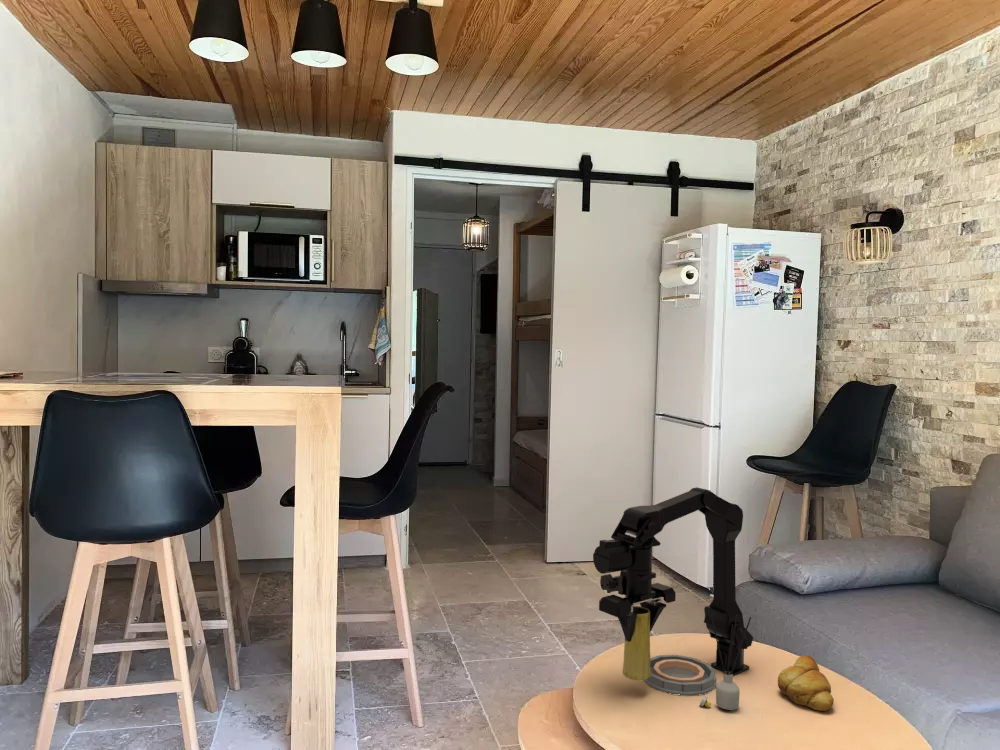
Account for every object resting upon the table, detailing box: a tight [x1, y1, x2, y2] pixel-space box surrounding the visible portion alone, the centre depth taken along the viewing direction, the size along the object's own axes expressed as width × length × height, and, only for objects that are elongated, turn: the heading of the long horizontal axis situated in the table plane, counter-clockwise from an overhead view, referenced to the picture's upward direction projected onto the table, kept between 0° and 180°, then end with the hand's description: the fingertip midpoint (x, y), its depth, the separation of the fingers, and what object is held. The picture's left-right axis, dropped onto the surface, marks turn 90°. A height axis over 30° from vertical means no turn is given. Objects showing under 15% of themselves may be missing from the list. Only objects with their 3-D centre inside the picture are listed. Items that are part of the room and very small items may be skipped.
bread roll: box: [777, 655, 835, 712], centre depth 159 cm, size 13×10×8 cm
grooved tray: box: [643, 654, 717, 696], centre depth 169 cm, size 16×16×2 cm
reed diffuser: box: [699, 614, 752, 711], centre depth 154 cm, size 10×7×20 cm
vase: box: [622, 605, 651, 681], centre depth 161 cm, size 6×6×14 cm
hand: (637, 638), depth 161 cm, fingers closed on vase, 5 cm apart
